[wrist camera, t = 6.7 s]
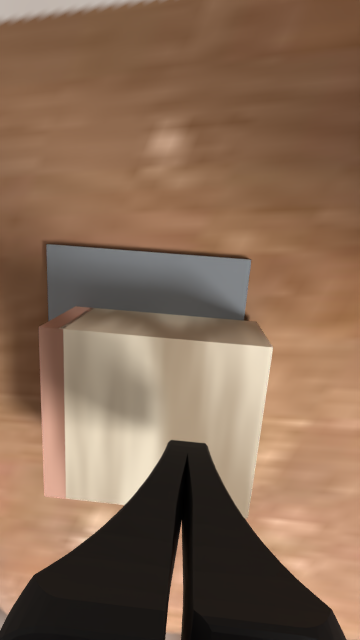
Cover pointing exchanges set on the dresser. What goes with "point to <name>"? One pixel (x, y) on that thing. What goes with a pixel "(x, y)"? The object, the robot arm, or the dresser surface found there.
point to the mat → (146, 282)
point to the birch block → (148, 399)
